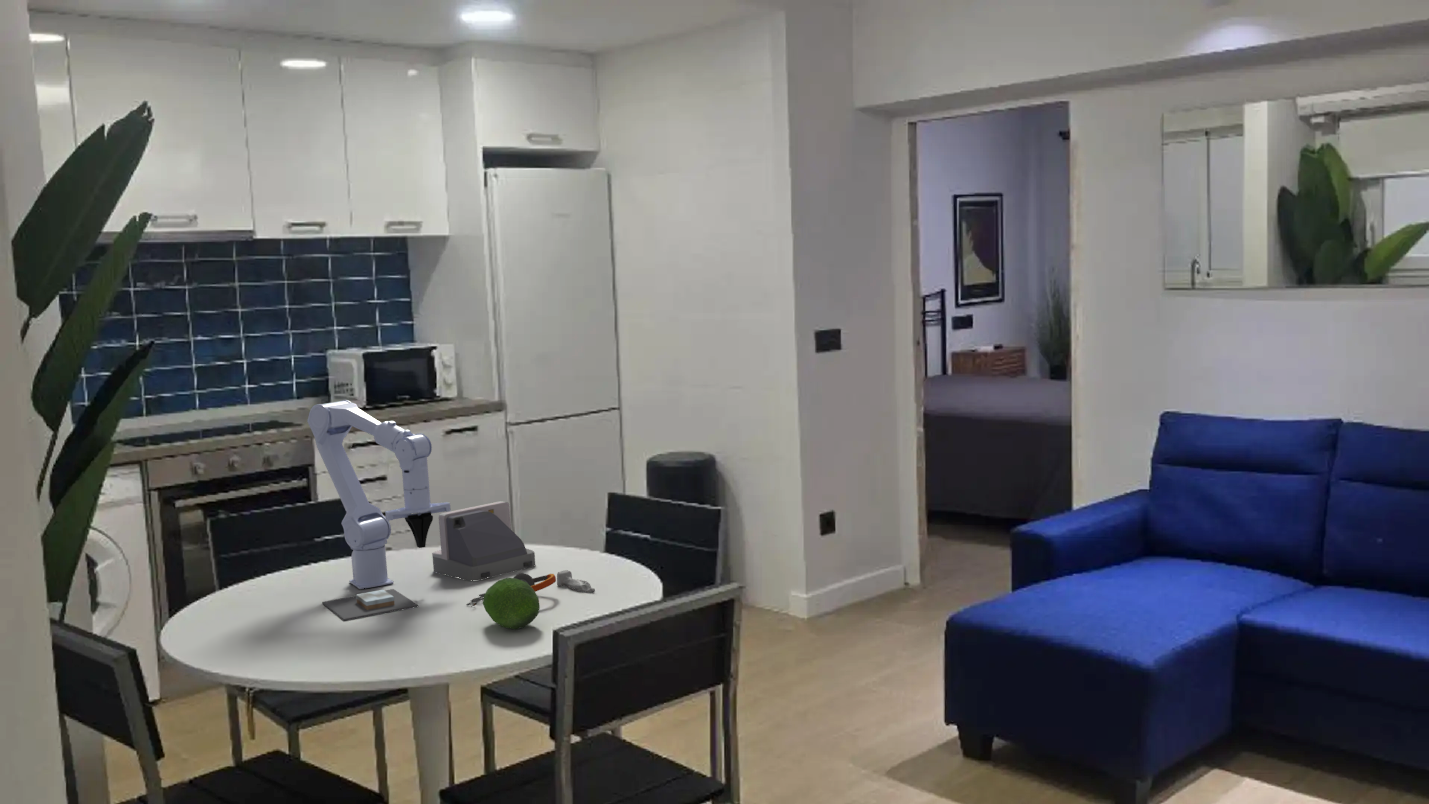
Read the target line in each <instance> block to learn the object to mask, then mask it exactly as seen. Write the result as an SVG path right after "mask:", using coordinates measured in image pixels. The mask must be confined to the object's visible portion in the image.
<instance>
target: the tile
mask: <svg viewBox="0 0 1429 804" xmlns="http://www.w3.org/2000/svg"><path fill="white" fill-rule="evenodd" d="M355 596H356V599H357V603H358V604H360V605H361V606H362V607H364V608H365V609H366V610H370V609H375V608H380V607H385V606H391V605H395V604H394V596H392V595H391V594H389V593H387V592H386V591H385V590H384V589H380V590H373V591H368V592H362V593H357V594H356V595H355Z"/></svg>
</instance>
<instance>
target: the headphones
mask: <svg viewBox="0 0 1429 804" xmlns="http://www.w3.org/2000/svg"><path fill="white" fill-rule="evenodd" d="M512 578H516V579H519V580H522V581H524V582H527V583H528V584H529V585H530V586H531V587H532V588H533V589H534V591H535V593H537V592H538V591H540V590H543V589H546V588H547V587H550V586H552V585H553V584H554V583H557V576H556V575H555V574H554V573H549V574H546V575H541V576H537V577H534V578H533V577H532V576H531V575H529V573H523V572H522V573H518V574H516V575H514V576H513V577H512ZM485 593H486V592H485ZM485 593H480V594H478V595H479V596H478V597H474V598H472V599H471V600H470V601H471V602H470V601H469V602H468V603H466V604H465V605H466V606H471V608H473V607H475V606H476V605H477V603H478V602H481V601H483V599H484V595H485Z"/></svg>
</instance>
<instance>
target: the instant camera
mask: <svg viewBox="0 0 1429 804" xmlns="http://www.w3.org/2000/svg"><path fill="white" fill-rule="evenodd" d="M511 523H512V522H511V510H510V503H509V502H507V501H502V500H501V501H500V500H499V501H495V502H490V503H485V504H480V505H476V506H475V505H474V506H470V507H466V508H461V509H456V510H451V511H449V512H446V511H445V512H440V514H439V515H438V526H439V527H438V529H439V538H440V539H439V540H440V549H439V550H436V551H433V552H431V555H432V565H433V567H432V568H433V572H434V573H435V572H437V573H436V574H439V573H440V574H439V575H443V574H446V575H445V576H447V575H449V576H448V577H451V576H452V578H455V577H459V578H461V579H460V580H463V579H464V580H463V581H467V580H472V581H471V582H474V581H473V580H479V581H482V580H481V579H483V580H486V579H485V578H487V577H490V578H494V577H498V576H501V575H500V574H502V575H505V574H510V573H513V571H514V572H517V571H518V572H519V571H521V569H522V570H525V569H524V568H526V569H529V568H533V567H535V566H536V555H535V554H536V553H535V551H533V549H529V548H526V546H525V544H524V541H523V540H522V538H520V536H518V535H517V534H516V533H515V532H514V531H513V530H512V526H511V525H512V524H511ZM534 565H535V566H534ZM532 566H533V567H532ZM459 578H458V579H459ZM487 579H488V578H487Z"/></svg>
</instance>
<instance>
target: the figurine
mask: <svg viewBox="0 0 1429 804" xmlns="http://www.w3.org/2000/svg"><path fill="white" fill-rule="evenodd" d="M556 585H558V587H568V588H570V589H573V590H574V591H577V592H580V593H581V592H582V593H588V594H589V593H590V594H593V593H595V592H596V590H595V588H593V587H592V585H591V583H589V582H588V580H582V579H575V578H573V574H572V571H570V570H567V569H566V570H561V571H558V572H557V575H556Z"/></svg>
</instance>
